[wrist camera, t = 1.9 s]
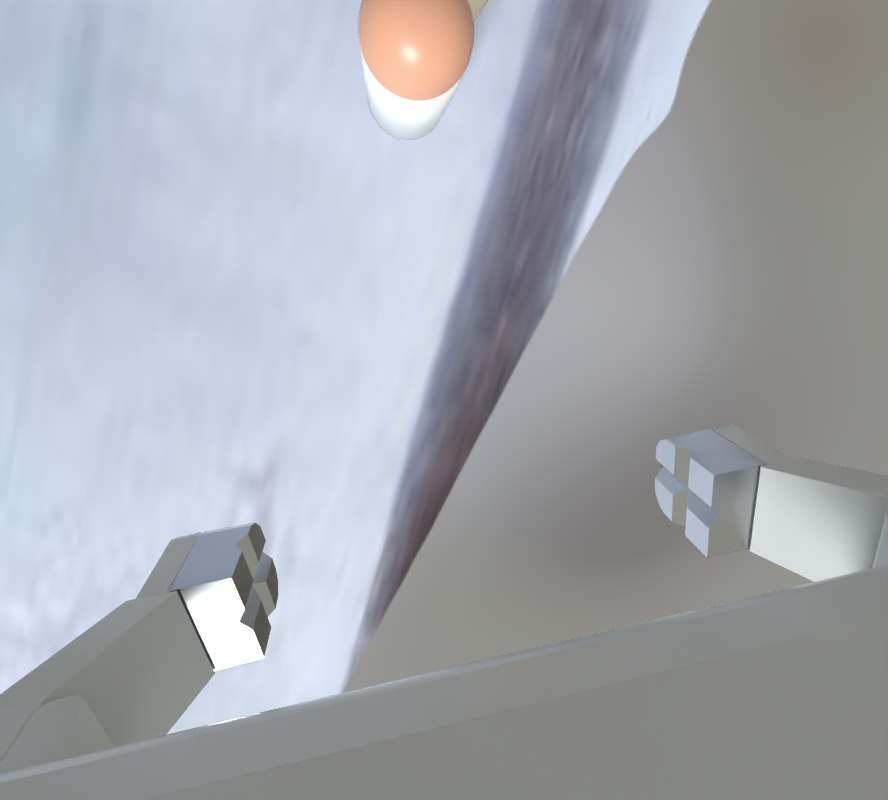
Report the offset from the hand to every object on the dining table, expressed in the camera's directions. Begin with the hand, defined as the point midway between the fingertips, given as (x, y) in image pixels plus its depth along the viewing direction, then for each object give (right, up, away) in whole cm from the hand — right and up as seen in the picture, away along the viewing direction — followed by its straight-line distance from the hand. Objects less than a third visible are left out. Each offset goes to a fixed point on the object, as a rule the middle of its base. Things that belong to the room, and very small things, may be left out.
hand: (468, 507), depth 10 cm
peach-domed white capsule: (-3, +22, +22) cm, 32 cm away
